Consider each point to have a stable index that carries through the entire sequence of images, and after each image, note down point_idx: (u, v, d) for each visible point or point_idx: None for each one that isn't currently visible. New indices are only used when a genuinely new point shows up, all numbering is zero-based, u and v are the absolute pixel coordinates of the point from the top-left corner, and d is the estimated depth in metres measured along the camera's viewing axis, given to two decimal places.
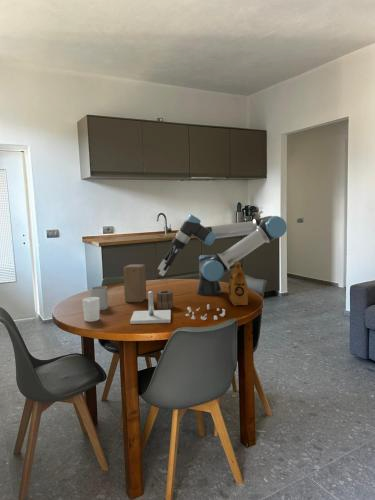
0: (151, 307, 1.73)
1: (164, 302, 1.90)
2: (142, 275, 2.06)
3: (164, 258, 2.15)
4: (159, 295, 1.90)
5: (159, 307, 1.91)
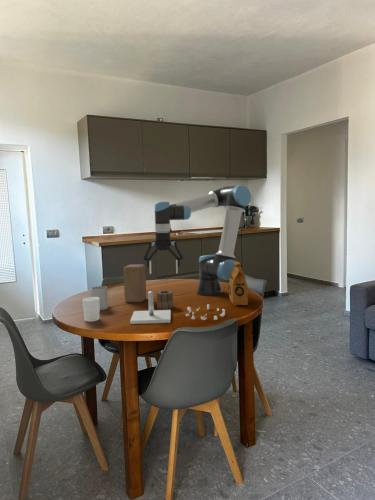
0: (151, 307, 1.73)
1: (164, 302, 1.90)
2: (142, 275, 2.07)
3: (149, 260, 1.90)
4: (159, 295, 1.90)
5: (159, 307, 1.91)
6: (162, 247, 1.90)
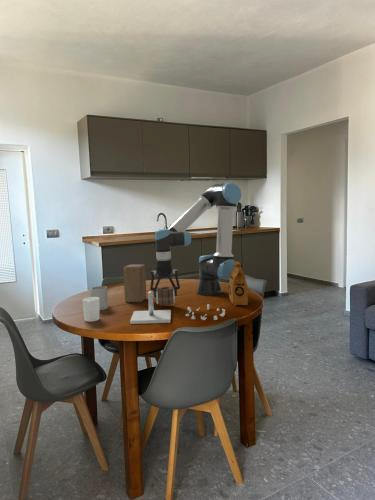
0: (151, 307, 1.73)
1: (165, 298, 1.90)
2: (142, 275, 2.06)
3: None
4: (160, 291, 1.90)
5: (160, 303, 1.91)
6: (163, 274, 1.91)
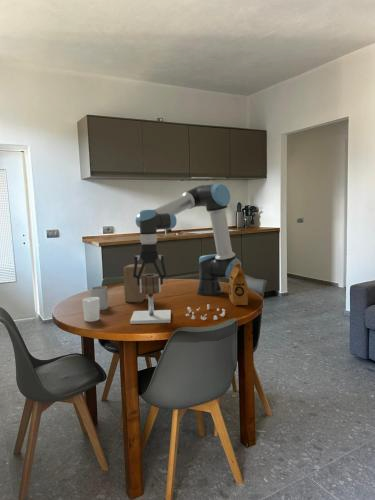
0: (151, 307, 1.73)
1: (149, 286, 1.70)
2: None
3: (139, 277, 1.72)
4: (143, 278, 1.70)
5: (143, 292, 1.71)
6: (148, 260, 1.71)
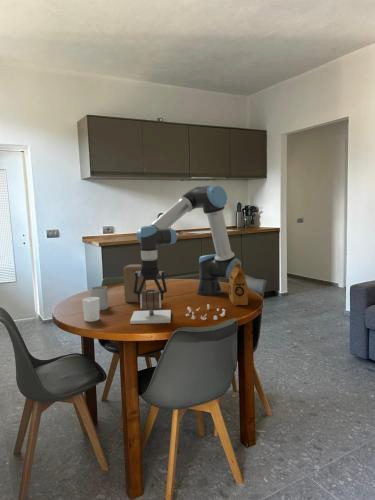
0: None
1: (150, 302, 1.70)
2: None
3: (140, 292, 1.72)
4: (144, 294, 1.71)
5: (144, 308, 1.72)
6: (149, 276, 1.72)
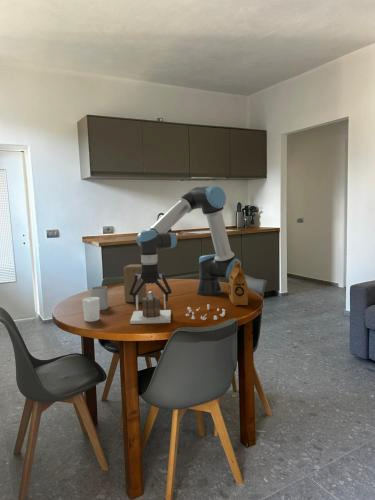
0: None
1: (150, 310, 1.71)
2: None
3: (136, 295, 1.73)
4: (144, 302, 1.71)
5: (144, 315, 1.72)
6: (149, 280, 1.72)
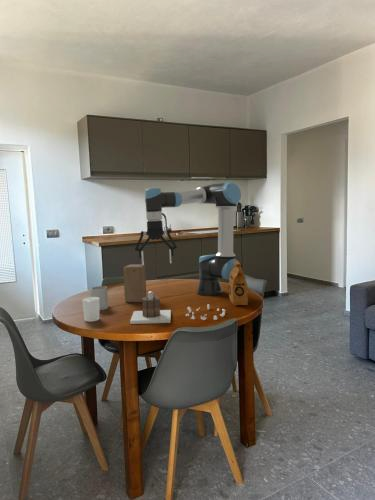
0: None
1: (150, 310, 1.71)
2: (142, 275, 2.06)
3: (141, 250, 1.80)
4: (144, 302, 1.71)
5: (144, 315, 1.72)
6: (154, 236, 1.80)
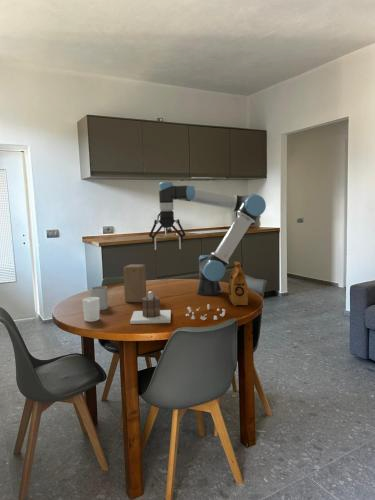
0: None
1: (150, 310, 1.71)
2: (142, 275, 2.06)
3: (154, 237, 2.04)
4: (144, 302, 1.71)
5: (144, 315, 1.72)
6: (166, 225, 2.04)
